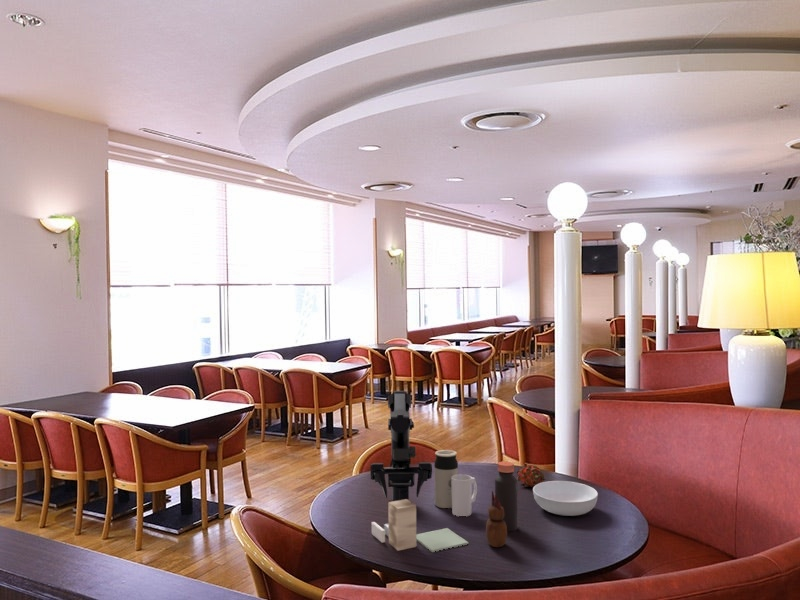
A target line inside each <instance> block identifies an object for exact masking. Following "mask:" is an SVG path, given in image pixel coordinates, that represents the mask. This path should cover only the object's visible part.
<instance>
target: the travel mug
mask: <svg viewBox="0 0 800 600" xmlns="http://www.w3.org/2000/svg"><path fill="white" fill-rule="evenodd" d="M434 455H435V457H436V458H435V460H434V464H433V465H434V467H433V468H434V469H433V470H434V473H433V474H434V505H435V507H438V508H439V509H445V508H448V509H452V488H451V477H452V476H453V475H457V474H459V463H458V459H457V455H458V453H457V451H455V450H451V449H441V450H436V451H435V453H434Z"/></svg>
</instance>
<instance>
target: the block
mask: <svg viewBox="0 0 800 600" xmlns="http://www.w3.org/2000/svg"><path fill="white" fill-rule="evenodd" d="M409 500H410V499H409ZM409 500H408V499H404V500H398V501H392V502H389V501H388V503H387V505H388V506H387V507H388V511H387V512H388V523H389V537H388V544H389V545H390V546H392V547H393V548H394V549H395V550H396V551H397V552H398V551H404V550H407V549H412V548H417V542H418V541H417V540H416V534H417V505H416V504H415V503H414V502H413V501H412V500H410V501H409ZM411 501H412V502H413V503H412V502H411Z"/></svg>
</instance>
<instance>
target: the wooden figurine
mask: <svg viewBox="0 0 800 600" xmlns="http://www.w3.org/2000/svg"><path fill="white" fill-rule="evenodd" d="M487 513H488V519H487V521H486V524H485V536H486V540H487V544H489V546H491V547H494V548H502V547H503V546H504V545H505V544H506V541H507V539H508V532H507V526H506V523H505V521H504V520H503V518H504V508H503V507H502V506H501V505H500V502H499V501H498V499H497V497H496V494H495V493H494V491H491V505H490V506H489V507H488V511H487Z"/></svg>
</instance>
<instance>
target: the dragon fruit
mask: <svg viewBox="0 0 800 600" xmlns="http://www.w3.org/2000/svg"><path fill="white" fill-rule="evenodd" d="M516 474H517V476H516V479H517V482H520V483H523V486H524V487H527V488H528V487H531V488H532V489H533V488H534V486H535V485H537V484H539V483H542V482H545V480H546V477H545V475H544V473H543V471H542V470H541V469H540V468H539V467H538V466H537V465H533V464H527V466H525V467H523V468H521V469H518V470H517V472H516Z"/></svg>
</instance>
